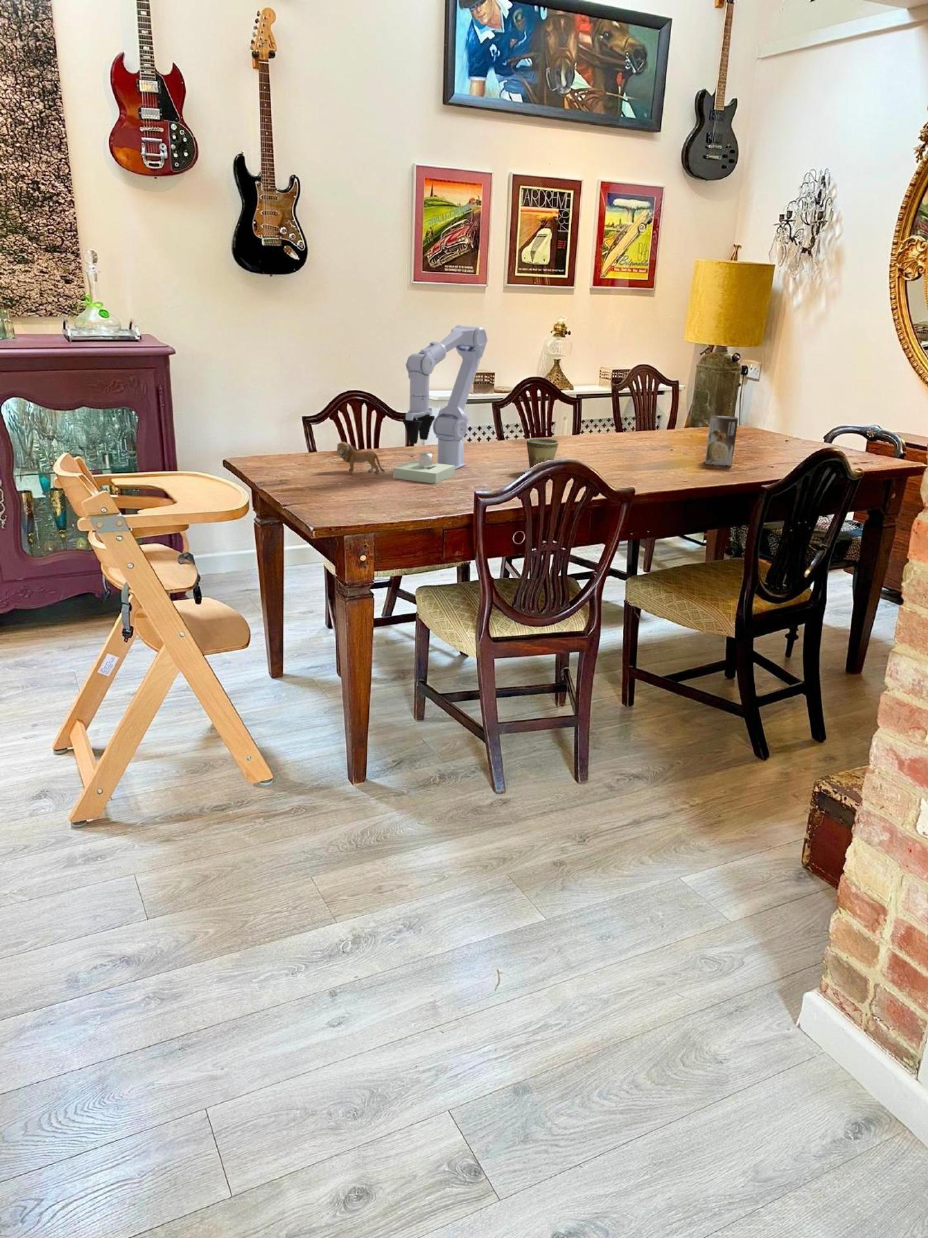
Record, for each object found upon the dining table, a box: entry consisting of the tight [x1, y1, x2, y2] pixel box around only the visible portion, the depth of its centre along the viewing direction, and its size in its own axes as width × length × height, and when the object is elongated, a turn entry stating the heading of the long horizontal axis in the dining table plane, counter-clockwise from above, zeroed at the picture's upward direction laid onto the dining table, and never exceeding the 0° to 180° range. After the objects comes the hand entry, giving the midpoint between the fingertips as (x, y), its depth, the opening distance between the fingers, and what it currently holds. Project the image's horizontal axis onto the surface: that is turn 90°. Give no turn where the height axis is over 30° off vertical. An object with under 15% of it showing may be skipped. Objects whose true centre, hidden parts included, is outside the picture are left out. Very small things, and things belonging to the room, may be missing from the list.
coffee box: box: [704, 414, 739, 467], centre depth 302 cm, size 9×6×16 cm
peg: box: [418, 452, 434, 469], centre depth 263 cm, size 4×4×7 cm
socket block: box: [392, 460, 456, 484], centre depth 264 cm, size 14×14×3 cm
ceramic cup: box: [526, 437, 559, 469], centre depth 277 cm, size 13×10×10 cm
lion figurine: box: [336, 441, 386, 475], centre depth 266 cm, size 15×5×9 cm, turn 91°
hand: (418, 441), depth 265 cm, fingers open, 7 cm apart
